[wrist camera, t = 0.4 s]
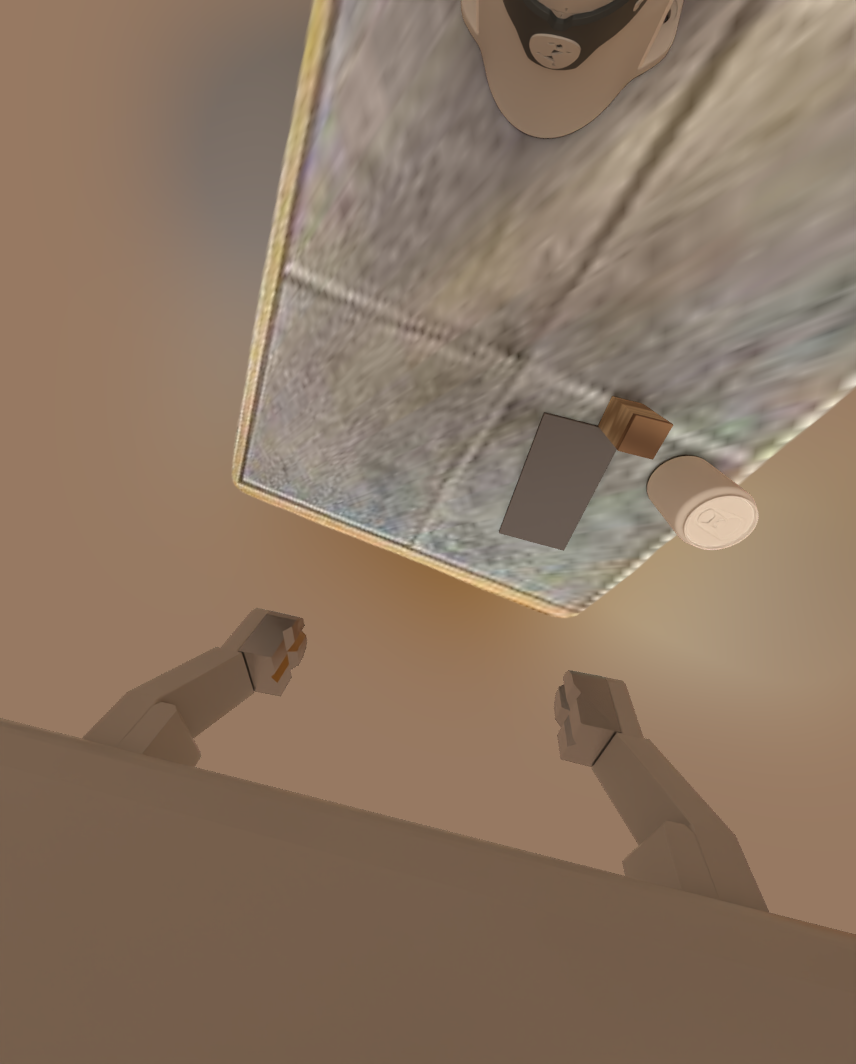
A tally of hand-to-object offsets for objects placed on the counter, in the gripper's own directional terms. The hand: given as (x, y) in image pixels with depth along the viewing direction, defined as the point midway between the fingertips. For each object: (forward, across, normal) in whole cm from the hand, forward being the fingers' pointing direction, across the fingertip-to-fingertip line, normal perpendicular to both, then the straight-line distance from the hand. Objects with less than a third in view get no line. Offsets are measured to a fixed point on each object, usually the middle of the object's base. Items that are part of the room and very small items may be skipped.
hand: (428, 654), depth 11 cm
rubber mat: (+45, -13, +13) cm, 48 cm away
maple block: (+45, -18, +2) cm, 48 cm away
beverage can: (+45, -29, +10) cm, 54 cm away
